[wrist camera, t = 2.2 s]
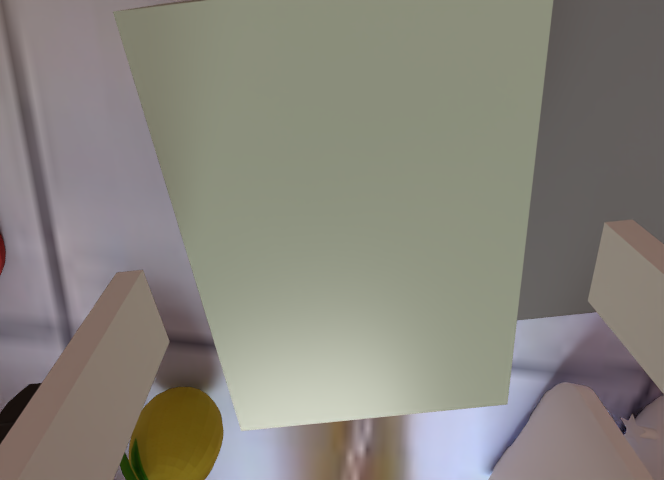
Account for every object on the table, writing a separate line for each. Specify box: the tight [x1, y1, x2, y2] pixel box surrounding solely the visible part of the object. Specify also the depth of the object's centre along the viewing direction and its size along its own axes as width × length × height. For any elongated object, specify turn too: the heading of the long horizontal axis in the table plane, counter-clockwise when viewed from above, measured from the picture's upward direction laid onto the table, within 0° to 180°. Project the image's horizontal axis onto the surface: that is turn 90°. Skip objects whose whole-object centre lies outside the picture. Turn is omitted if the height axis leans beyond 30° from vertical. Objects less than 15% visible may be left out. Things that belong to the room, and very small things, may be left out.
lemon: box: [120, 387, 223, 480], centre depth 28 cm, size 7×6×10 cm
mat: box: [517, 0, 664, 320], centre depth 25 cm, size 15×20×1 cm
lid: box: [113, 0, 553, 431], centre depth 17 cm, size 11×16×4 cm
